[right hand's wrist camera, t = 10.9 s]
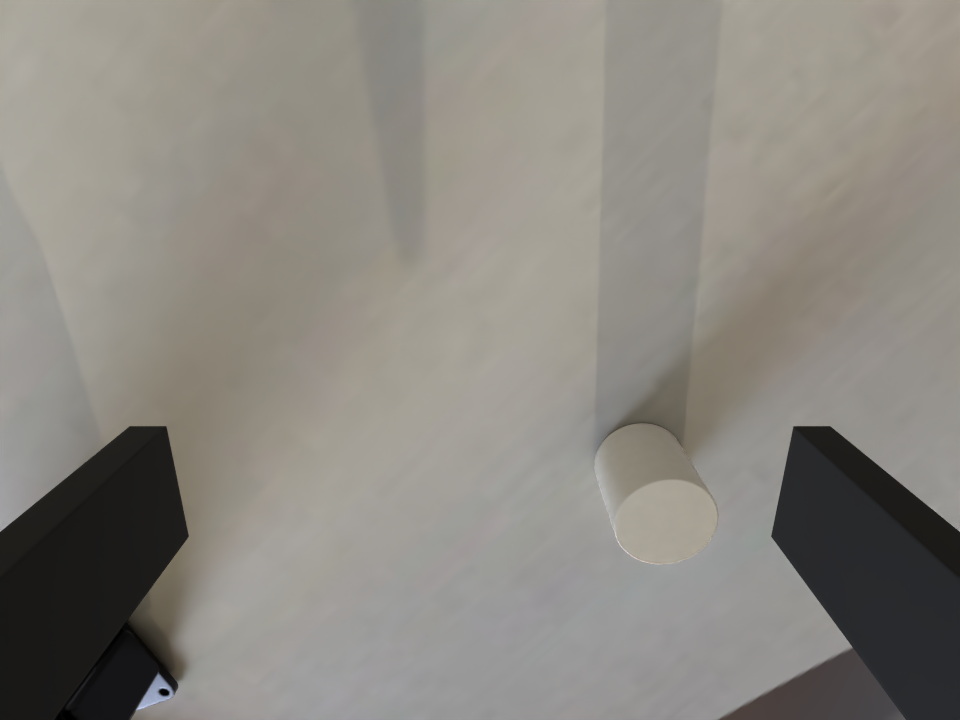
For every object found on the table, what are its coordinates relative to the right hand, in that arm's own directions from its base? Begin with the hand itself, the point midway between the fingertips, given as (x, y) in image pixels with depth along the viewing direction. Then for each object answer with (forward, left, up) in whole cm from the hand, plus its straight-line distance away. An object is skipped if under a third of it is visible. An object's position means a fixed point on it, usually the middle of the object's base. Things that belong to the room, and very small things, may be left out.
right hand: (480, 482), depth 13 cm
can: (-2, +8, -11) cm, 14 cm away
